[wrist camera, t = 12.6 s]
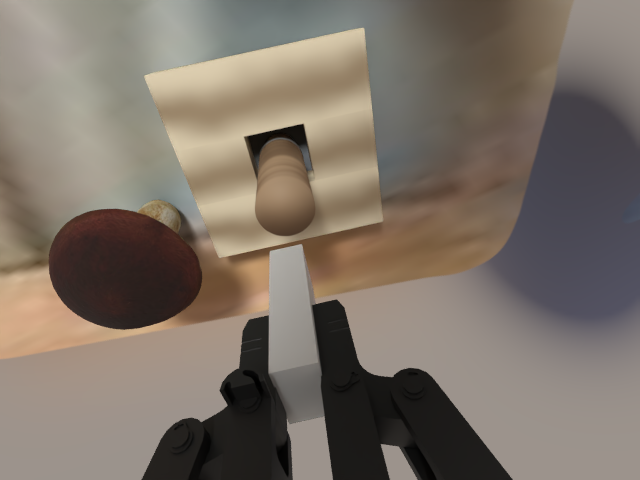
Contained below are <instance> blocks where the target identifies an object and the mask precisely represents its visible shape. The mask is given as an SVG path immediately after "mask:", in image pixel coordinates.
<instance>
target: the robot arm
mask: <svg viewBox="0 0 640 480" xmlns="http://www.w3.org/2000/svg"><path fill="white" fill-rule="evenodd" d="M220 392H221V394H222V396H223V398H224V399H225V401H226V403H227V405H228V406H227V407H226V408H225V409H224V410H222V411H220V412H219V413H217V414H216V415H214V416H212V417H210V418H208V419H207V420H205V421H203V422H200V421H199V420H198V419H194V418H188V419H182V420H180V421H179V422H177V423H175V424H174V425H173V426H172V427H170V428H169V429H168V430H167V431H166V433H165V434H164V436H163V437H162V439H161V441H160V443H159V445H158V447H157V449H156V451H155V453H154V455H153V457H152V459H151V461H150V463H149V466H148V468H147V470H146V472H145V474H144V476H143V478H142V480H293V478H292V457H291V441H290V437H289V434H288V431H287V419H288V421H289V423H290V424H292V423H296V422H300V421H305V420H309V419H314V418H318V417H323V416H325V423H326V430H327V438H328V445H329V452H330V460H331V468H332V474H333V480H390V479H389V475H388V471H387V467H386V463H385V459H384V455H383V452H382V448H381V444H386V445H393V446H399V447H400V449H401V451H402V452H403V454H404V456H405V458H406V459H407V461H408V463H409V465H410V466H411V468H412V470H413V472H414V474H415V475H416V477H417V479H418V480H512V478H511V477H510V476H509V474H508V473H507V472H506V471H505V469H504V468H503V467H502V466H501V464H500V463H499V462H498V460H497V459H496V458H495V457H494V455H493V454H492V453H491V452H490V450H489V449H488V448H487V446H486V445H485V444H484V443H483V441H482V440H481V439H480V437H479V436H478V435H477V434H476V433H475V431H474V430H473V429H472V427H471V426H470V425H469V423H468V422H467V421H466V420H465V418H464V417H463V416H462V415H461V413H460V412H459V411H458V409H457V408H456V407H455V406H454V404H453V403H452V402H451V401H450V399H449V398H448V397H447V395H446V394H445V393H444V392H443V390H442V389H441V388H440V387H439V385H438V384H437V383H436V381H435V380H434V379H433V378H432V377H431V376H430V375H429V374H428V373H427V372H424V371H422V370H420V369H414V368H408V369H403V370H401V371H399V372H398V373H396V374H395V375H394V377H384V376H377V375H373V374H371V373H369V372H367V371H366V370H365V369H363V368H362V366H361V365H360V363H359V361H358V359H357V354H356V351H355V347H354V343H353V339H352V336H351V332H350V328H349V324H348V320H347V316H346V312H345V308H344V307H343V306H342V305H341V304H340V302H339V301H338V300H332V301H328V302H323V303H319V304H316V303H315V297H314V291H313V286H312V282H311V278H310V274H309V270H308V266H307V262H306V258H305V254H304V250H303V246H302V244H300V245H295V246H291V247H286V248H282V249H277V250H272V251H270V273H269V315H268V316H264V317H259V318H255V319H250V320H249V321H248V322H247V324H246V326H245V328H244V330H243V336H242V345H241V355H240V366H239V369H236V370H235V371H233V372H232V373H231V374H229V375H228V376H227V377H226V379H225V380H224V381H223V382H222V385H221V388H220Z"/></svg>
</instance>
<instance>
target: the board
mask: <svg viewBox="0 0 640 480" xmlns="http://www.w3.org/2000/svg"><path fill="white" fill-rule="evenodd" d="M144 77H145V80H146V82H147V85H148V87H149V90H150V92H151V94H152V97H153V99H154V102H155V104H156V107H157V109H158V111H159V114H160V116H161V119H162V121H163V123H164V126H165V128H166V131H167V133H168V136H169V138H170V140H171V143H172V145H173V148H174V150H175V152H176V155H177V157H178V160H179V162H180V165H181V167H182V169H183V172H184V174H185V177H186V179H187V181H188V184H189V186H190V189H191V191H192V194H193V196H194V198H195V201H196V203H197V206H198V208H199V211H200V213H201V215H202V218H203V220H204V223H205V225H206V227H207V230H208V232H209V235H210V237H211V240H212V242H213V244H214V247H215V249H216V252H217V254H218V256H219V258H222V257H227V256H231V255H236V254H240V253H245V252H249V251H254V250H258V249H263V248H267V247H271V246H276V245H280V244H285V243H289V242H294V241H298V240H303V239H307V238H312V237H316V236H321V235H325V234H330V233H334V232H339V231H343V230H348V229H352V228H357V227H361V226H366V225H370V224H375V223H379V222H383V215H382V204H381V194H380V184H379V174H378V164H377V154H376V144H375V134H374V124H373V114H372V103H371V93H370V83H369V73H368V63H367V53H366V43H365V33H364V28H358V29H352V30H348V31H343V32H338V33H334V34H329V35H325V36H320V37H315V38H311V39H306V40H302V41H297V42H292V43H288V44H283V45H279V46H274V47H269V48H265V49H260V50H256V51H251V52H246V53H242V54H237V55H233V56H228V57H223V58H219V59H214V60H209V61H205V62H200V63H196V64H191V65H186V66H182V67H177V68H173V69H168V70H163V71H159V72H154V73H151V74H148V75H145V76H144ZM299 124H303V127H304V132H305V137H306V142H307V147H308V151H309V156H310V161H311V166H312V170H311V171H307V175H308V179H309V183H310V186H311V190H312V194H313V198H314V202H315V207H316V208H315V216H314V218H313V221H312V222H311V224H310V225H309V226H308V227H307V228H306V229H305V230H304V231H302V232H300V233H298V234H296V235H292V236H278V235H274V234H272V233H270V232H268V231H266V230H265V229H264V228H263V227H262V226H261V225H260V224H259V222H258V220H257V218H256V215H255V201H256V190H257V180H258V169H257V165H256V162H255V158H254V155H253V152H252V148H251V145H250V141H249V138H248V136H249V135H254V134H258V133H263V132H267V131H272V130H276V129H281V128H286V127H290V126H295V125H299Z"/></svg>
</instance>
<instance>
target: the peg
mask: <svg viewBox="0 0 640 480" xmlns="http://www.w3.org/2000/svg"><path fill="white" fill-rule="evenodd" d="M315 208H316V207H315V202H314V198H313V194H312V190H311V186H310V183H309V179H308V175H307V171H306V167H305V164H304V159H303V154H302V151H301V149H300V147H299V146H298V145H297V144H296V143H295V141H294V140H293V138H292V137H290V136H289V135H287V134H283V133H277V134H274V135H272V136H270V137H269V138H268V139H267V140H266V142H265V144H264V145H263V147H262V149H261V151H260V154H259V169H258V180H257V190H256V201H255V215H256V218H257V220H258V222H259V224H260V225H261V226H262V227H263V228H264V229H265V230H266V231H268V232H270V233H272V234H274V235H278V236H292V235H296V234H298V233H300V232H302V231H304V230H305V229H306V228H307V227H308V226H309V225H310V224H311V222H312V221H313V218H314V216H315Z"/></svg>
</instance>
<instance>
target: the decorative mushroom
mask: <svg viewBox="0 0 640 480" xmlns="http://www.w3.org/2000/svg"><path fill="white" fill-rule="evenodd" d="M180 227H181V219H180V215H179V213H178V211H177V209H176V208H175V207H174V206H173V205H171V204H170V203H167V202H165V201H161V200H154V201H151V202H149V203H147V204H145V205H143V206H142V207H141V208H140V209H139V210H138V211H137V212H134V211H129V210H122V209H101V210H94V211H90V212H87V213H84V214H81V215H79V216H77V217H75V218H73V219H72V220H70V221H69V222H67V223H66V224H65V225H64V226H63V227H62V228H61V230H60V231H59V232H58V234H57V235H56V236H55V239H54V241H53V243H52V245H51V249H50V253H49V274H50V278H51V281H52V284H53V287H54V289H55V291H56V292H57V294H58V296H59V297H60V299H61V300H62V301H63V303H64V304H65V305H66V306H67V307H68V308H69V309H70V310H72V311H73V312H74V313H75V314H77V315H78V316H80V317H82V318H83V319H85V320H87V321H90V322H92V323H94V324H97V325H100V326H104V327H108V328H113V329H123V330H125V329H135V328H142V327H146V326H150V325H153V324H156V323H160V322H162V321H165V320H168V319H169V318H171V317H173V316H175V315H176V314H178V313H180V312H181V311H183V310H184V309H185V308H187V307H188V306H189V305H190V304H191V303H192V302H193V301H194V299H195V298H196V296H197V295H198V293H199V290H200V288H201V282H202V271H201V267H200V264H199V261H198V258H197V256H196V254H195V252H194V251H193V250H192V248H191V247H190V246H189V244H188V243H187V242H186V241H185V240H184V239H183V238H182V237H180V236H179V235H178V232H179V230H180Z"/></svg>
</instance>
